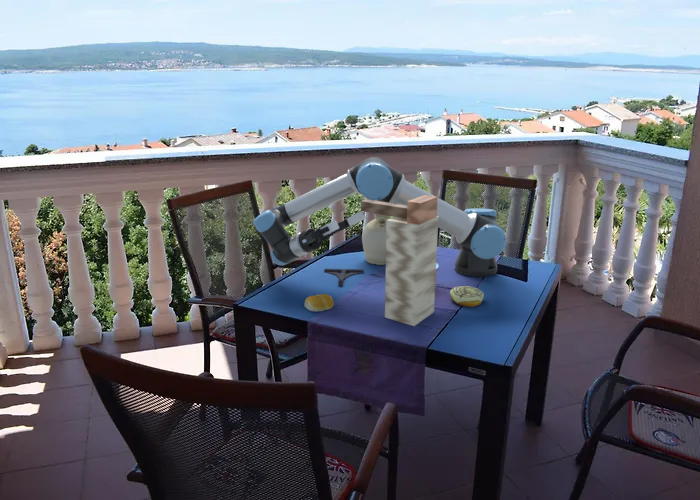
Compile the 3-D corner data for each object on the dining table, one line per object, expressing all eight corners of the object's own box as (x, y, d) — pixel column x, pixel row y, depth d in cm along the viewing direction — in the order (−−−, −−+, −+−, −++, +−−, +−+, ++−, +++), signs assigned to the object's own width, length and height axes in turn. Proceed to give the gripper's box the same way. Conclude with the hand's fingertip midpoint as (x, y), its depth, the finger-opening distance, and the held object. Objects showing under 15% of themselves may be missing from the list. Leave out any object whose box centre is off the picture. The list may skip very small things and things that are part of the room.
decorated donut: (454, 308, 170) (454, 297, 169) (446, 295, 180) (447, 284, 179) (487, 307, 171) (488, 296, 170) (477, 294, 181) (478, 283, 180)
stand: (384, 317, 164) (386, 220, 154) (405, 304, 173) (408, 211, 164) (414, 326, 158) (417, 225, 149) (433, 312, 167) (438, 216, 158)
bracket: (319, 287, 189) (319, 279, 188) (324, 272, 203) (324, 265, 202) (361, 288, 188) (361, 281, 187) (363, 273, 202) (363, 266, 201)
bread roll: (338, 308, 171) (338, 296, 170) (313, 314, 166) (313, 302, 165) (325, 299, 178) (324, 287, 176) (300, 305, 173) (300, 293, 172)
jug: (393, 269, 204) (394, 203, 196) (355, 263, 210) (355, 199, 202) (407, 257, 217) (409, 195, 209) (371, 252, 223) (371, 191, 215)
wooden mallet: (354, 213, 162) (353, 193, 160) (372, 206, 170) (373, 187, 168) (419, 224, 150) (420, 203, 148) (436, 217, 157) (437, 196, 155)
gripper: (333, 243, 193) (377, 222, 179) (285, 262, 174) (330, 240, 160) (325, 223, 193) (368, 201, 179) (275, 240, 174) (320, 216, 160)
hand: (350, 219), depth 170 cm, fingers open, 13 cm apart
